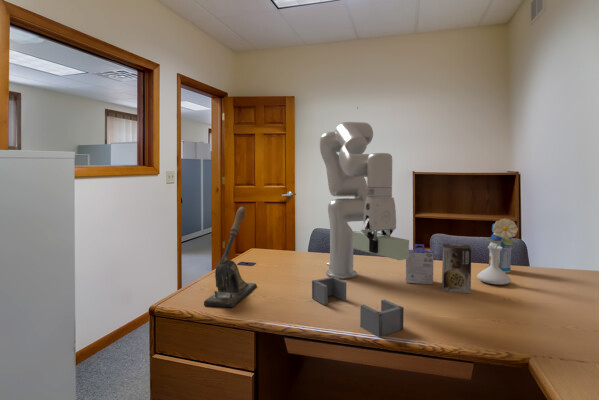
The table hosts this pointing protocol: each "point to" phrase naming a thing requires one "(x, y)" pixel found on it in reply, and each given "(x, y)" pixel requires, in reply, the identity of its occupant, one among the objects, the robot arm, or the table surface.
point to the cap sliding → (328, 289)
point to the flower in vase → (493, 271)
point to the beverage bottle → (501, 253)
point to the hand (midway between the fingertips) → (378, 251)
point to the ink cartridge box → (420, 266)
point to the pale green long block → (383, 245)
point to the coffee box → (456, 268)
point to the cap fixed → (382, 318)
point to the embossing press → (230, 274)
